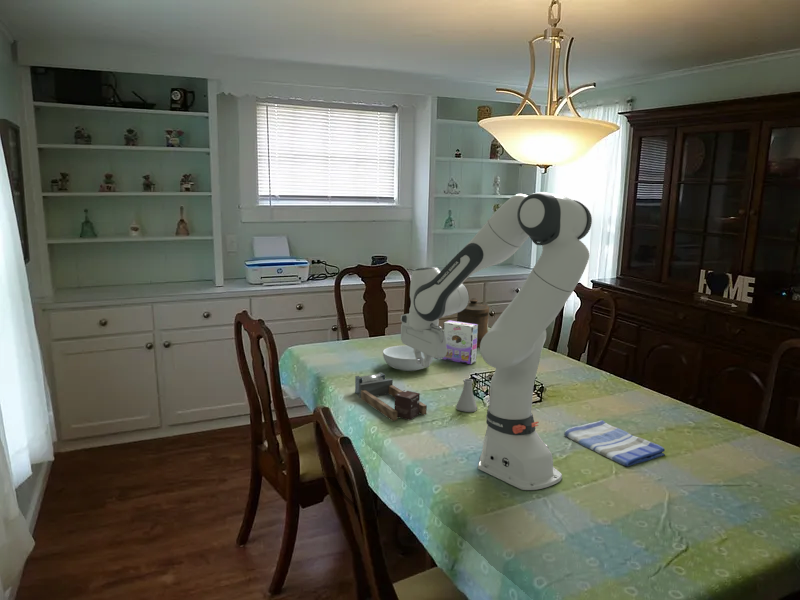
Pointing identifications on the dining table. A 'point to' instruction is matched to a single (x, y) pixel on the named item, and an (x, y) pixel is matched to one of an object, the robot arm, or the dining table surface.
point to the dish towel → (614, 443)
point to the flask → (467, 398)
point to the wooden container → (475, 317)
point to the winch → (367, 380)
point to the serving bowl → (402, 358)
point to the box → (407, 404)
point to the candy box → (460, 341)
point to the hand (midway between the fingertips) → (422, 365)
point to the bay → (380, 388)
